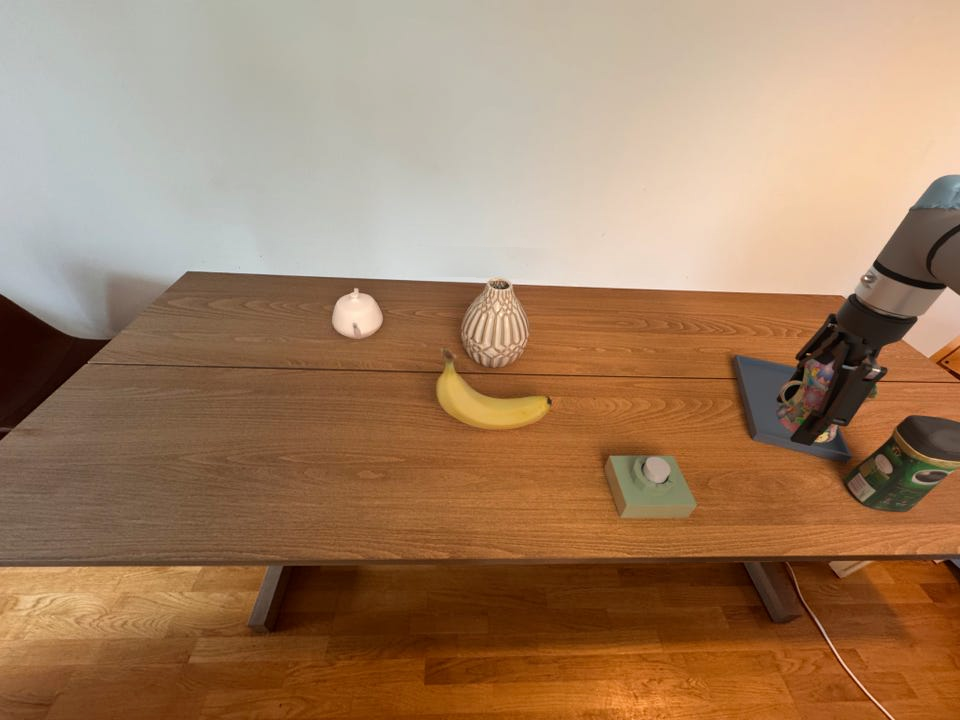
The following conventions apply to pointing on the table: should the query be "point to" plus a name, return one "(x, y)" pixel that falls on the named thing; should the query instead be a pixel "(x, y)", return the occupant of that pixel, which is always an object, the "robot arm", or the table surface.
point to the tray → (760, 406)
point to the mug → (811, 398)
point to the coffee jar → (907, 464)
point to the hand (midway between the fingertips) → (792, 421)
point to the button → (656, 470)
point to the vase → (495, 326)
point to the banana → (485, 402)
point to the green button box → (648, 489)
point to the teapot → (357, 315)
